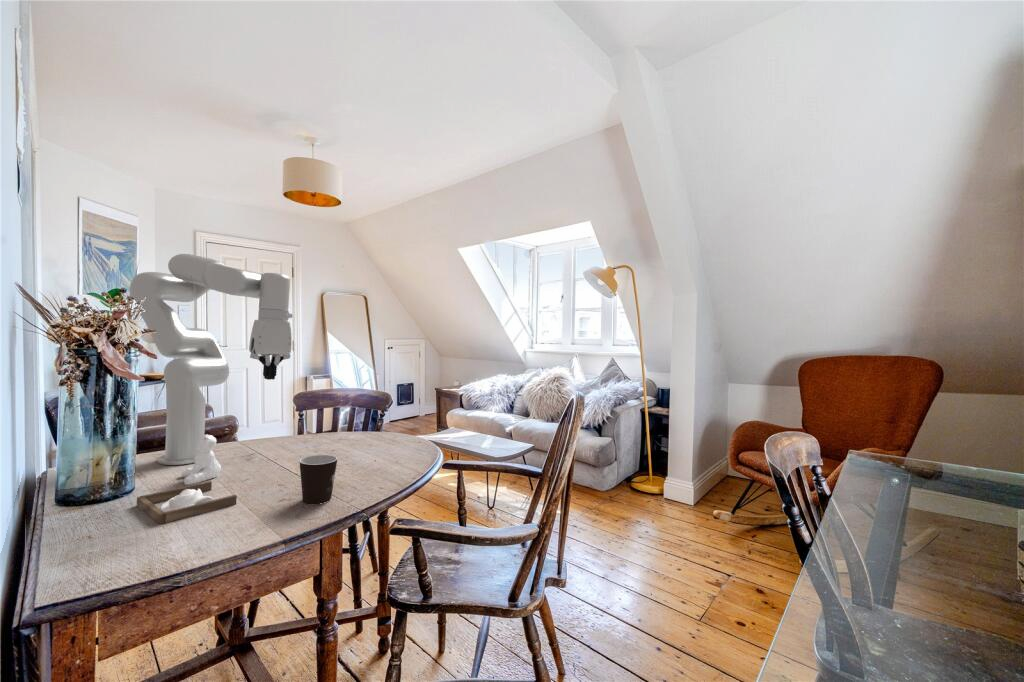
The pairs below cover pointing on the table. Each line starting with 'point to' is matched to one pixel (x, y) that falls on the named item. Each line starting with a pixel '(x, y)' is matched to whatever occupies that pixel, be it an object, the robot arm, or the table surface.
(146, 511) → the walnut bay
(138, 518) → the table surface
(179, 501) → the rose
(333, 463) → the coffee mug
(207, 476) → the seated beast figurine
